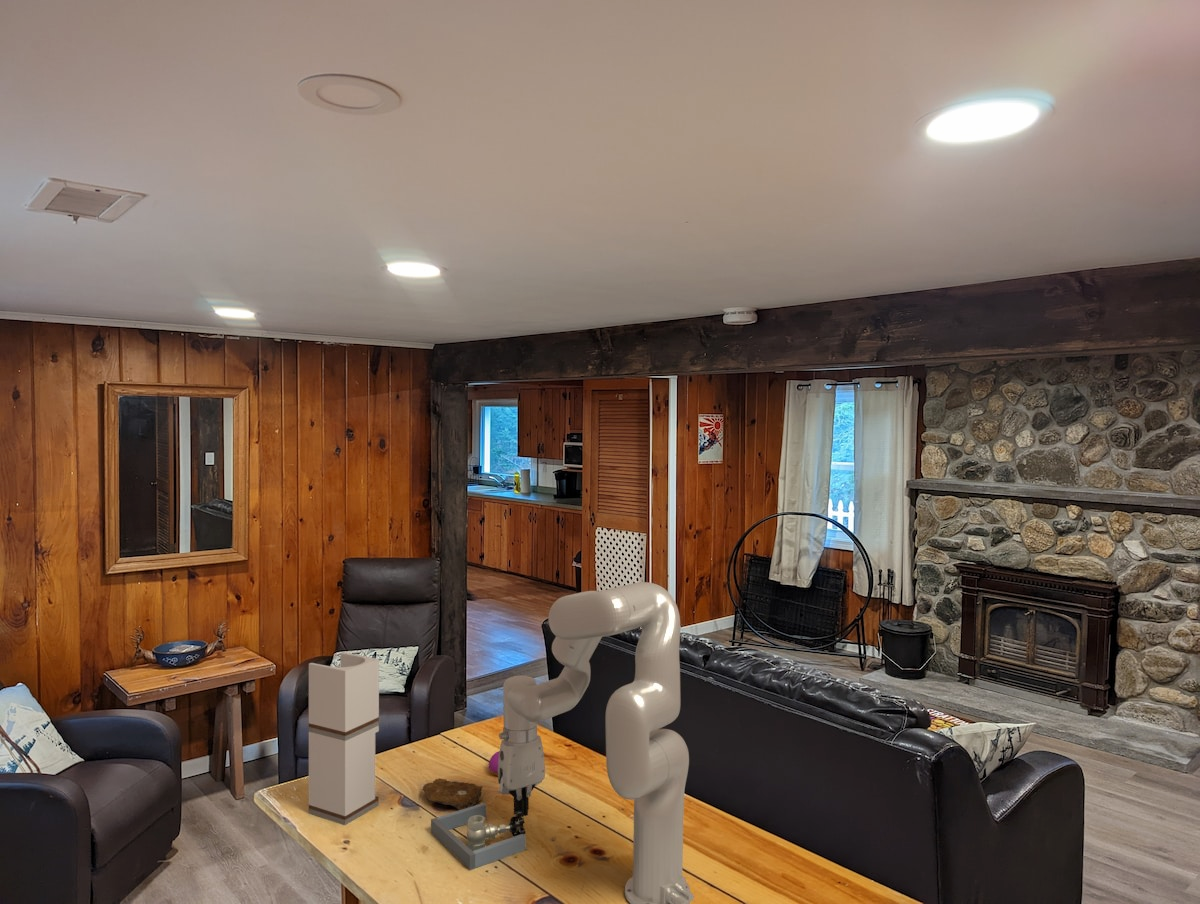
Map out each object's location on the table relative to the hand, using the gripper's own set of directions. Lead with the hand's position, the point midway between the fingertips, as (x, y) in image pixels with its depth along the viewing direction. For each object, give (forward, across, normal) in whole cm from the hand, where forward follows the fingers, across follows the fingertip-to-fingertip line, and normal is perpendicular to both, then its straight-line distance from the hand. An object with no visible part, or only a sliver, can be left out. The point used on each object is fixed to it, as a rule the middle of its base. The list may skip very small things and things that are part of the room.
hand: (521, 814), depth 177 cm
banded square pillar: (+2, -29, +32) cm, 43 cm away
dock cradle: (+3, -10, +1) cm, 11 cm away
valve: (+3, -9, -3) cm, 10 cm away
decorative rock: (+3, -7, +22) cm, 23 cm away
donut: (+3, +13, +27) cm, 30 cm away
